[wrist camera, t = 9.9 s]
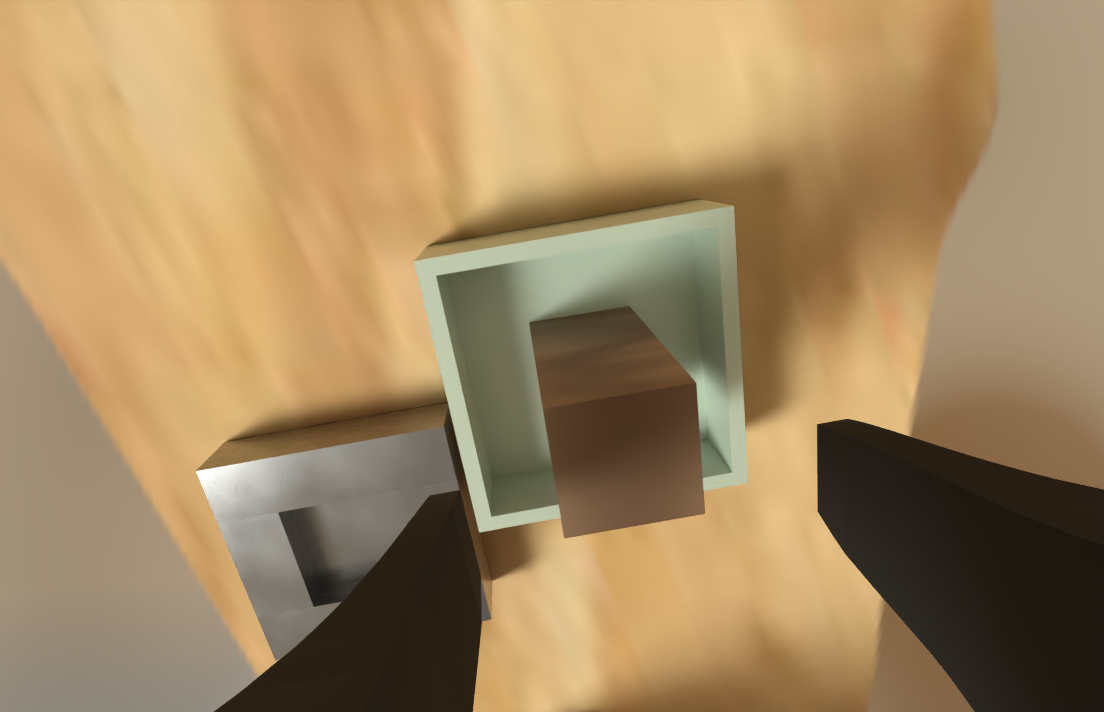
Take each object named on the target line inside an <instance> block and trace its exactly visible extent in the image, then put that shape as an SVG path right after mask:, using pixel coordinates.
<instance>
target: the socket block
mask: <svg viewBox="0 0 1104 712" xmlns="http://www.w3.org/2000/svg"><path fill="white" fill-rule="evenodd" d="M196 473H197V475H198V478H199V480H200V482H201V485H202V487H203V490H204V492H205V494H206V497H207V499H208V501H209V504H210V506H211V509H212V511H213V513H214V516H215V518H216V520H217V523H218V525H219V527H220V530H221V532H222V535H223V537H224V539H225V542H226V544H227V546H228V549H229V551H230V554H231V556H232V558H233V561H234V563H235V565H236V568H237V570H238V572H239V575H240V577H241V580H242V582H243V584H244V587H245V589H246V591H247V594H248V596H249V599H250V601H251V603H252V606H253V608H254V610H255V613H256V615H257V618H258V620H259V622H260V625H261V627H262V629H263V632H264V634H265V636H266V639H267V641H268V644H269V646H270V648H271V651H272V653H273V655H274V658H275V660H278V659H281V658H282V657H283V656H285V655H286V654H287V653H288V652H290V651H291V650H292V649H293V648H294V647H295V646H297V645H298V644H299V643H300V642H301V641H302V640H303V639H304V638H305V637H306V636H307V635H309V634H310V633H311V632H312V631H313V630H314V629H315V628H316V627H317V626H318V625H319V624H320V623H321V622H322V621H323V620H324V619H325V618H326V617H327V616H328V615H329V614H330V613H331V612H332V611H333V610H334V609H335V608H336V607H337V606H338V605H339V604H340V603H341V602H342V601H343V600H344V599H345V598H346V597H347V596H348V595H349V594H350V593H351V591H352V590H353V589H354V588H355V587H356V586H357V585H358V583H359V582H360V581H361V580H362V579H363V578H364V577H365V576H366V574H367V573H368V572H369V571H370V570H371V569H372V568H373V566H374V565H375V564H376V563H377V562H378V561H379V560H380V558H381V557H382V556H383V555H384V553H385V552H386V551H387V550H388V548H389V547H390V546H391V545H392V543H393V542H394V541H395V539H396V538H397V537H398V536H399V534H400V533H401V532H402V530H403V529H404V528H405V526H406V525H407V524H408V523H409V521H410V520H411V519H412V517H413V516H414V515H415V513H416V512H417V511H418V509H419V508H420V507H421V505H422V504H423V503H424V502H425V500H426V499H427V498H428V497H429V495H435V494H440V493H446V492H451V491H457V490H460V492H461V496H462V500H463V504H464V508H465V512H466V516H467V520H468V524H469V528H470V532H471V537H472V541H473V545H474V549H475V553H476V557H477V561H478V565H479V569H480V573H481V600H482V621H485V620H490V619H491V611H492V578H491V574H490V570H489V566H488V562H487V558H486V553H485V549H484V545H483V541H482V537H481V533H479V530H478V525H477V521H476V517H475V513H474V509H473V505H472V501H471V496H470V492H469V488H468V484H467V480H466V476H465V471H464V467H463V463H462V459H461V455H460V451H459V447H458V442H457V438H456V434H455V430H454V426H453V422H452V418H451V413H450V409H449V405H448V402H446V403H440V404H435V405H429V406H424V407H418V408H412V409H407V410H401V411H396V412H390V413H385V414H379V415H373V416H368V417H362V418H357V419H351V420H345V421H340V422H334V423H329V424H323V425H317V426H312V427H306V428H301V429H295V430H290V431H284V432H278V433H273V434H267V435H262V436H256V437H250V438H245V439H239V440H234V441H228V442H224V443H223V444H222V445H221V446H220V447H219V448H218V449H217V450H216V451H215V452H214V453H213V454H212V455H211V456H210V457H209V458H208V459H207V460H206V461H205V462H204V463H203V464H202V465H201V466H200V467H199V468H198V469H197V470H196Z"/></svg>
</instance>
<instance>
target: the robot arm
mask: <svg viewBox="0 0 1104 712" xmlns="http://www.w3.org/2000/svg"><path fill="white" fill-rule="evenodd" d="M817 474H818V513H819V514H820V516H821V517H822V519H823V521H824V522H825V524H826V525H827V527H828V529H829V530H830V532H831V533H832V535H833V536H834V538H835V539H836V541H837V542H838V544H839V545H840V547H841V548H842V550H843V551H844V553H845V554H846V555H847V556H848V558H849V559H850V560H851V561H852V562H853V564H854V565H855V566H856V567H857V568H858V570H859V571H860V572H861V573H862V574H863V575H864V577H865V578H866V579H867V580H868V581H869V582H870V584H871V585H872V586H873V587H874V588H875V589H876V591H877V592H878V593H879V594H880V595H881V596H882V597H883V599H884V600H885V601H886V602H887V603H888V604H889V605H890V606H891V608H892V609H893V610H894V611H895V612H896V613H897V614H898V616H899V617H900V618H901V619H902V620H903V621H904V622H905V624H906V625H907V626H908V627H909V628H910V630H911V631H912V632H913V633H914V634H915V635H916V636H917V638H918V639H919V640H920V641H921V642H922V643H923V645H924V646H925V647H926V648H927V649H928V650H929V651H930V653H931V654H932V655H933V656H934V658H935V659H936V660H937V661H938V663H939V664H940V665H941V666H942V667H943V669H944V670H945V671H946V672H947V674H948V675H949V676H950V678H951V679H952V681H953V682H954V683H955V685H956V686H957V688H958V689H959V690H960V692H961V693H962V694H963V696H964V697H965V699H966V700H967V701H968V703H969V704H970V706H971V707H972V708H973V710H974V711H975V712H1104V490H1103V489H1098V488H1093V487H1089V486H1085V485H1080V484H1075V483H1070V482H1066V481H1062V480H1057V479H1053V478H1049V477H1045V476H1041V475H1037V474H1033V473H1029V472H1026V471H1022V470H1018V469H1015V468H1011V467H1007V466H1004V465H1000V464H997V463H993V462H989V461H986V460H983V459H979V458H976V457H972V456H969V455H966V454H963V453H959V452H956V451H953V450H950V449H947V448H944V447H940V446H937V445H934V444H931V443H928V442H925V441H922V440H919V439H915V438H912V437H909V436H906V435H903V434H900V433H897V432H894V431H891V430H887V429H884V428H881V427H877V426H874V425H871V424H867V423H863V422H859V421H855V420H850V419H844V420H838V421H833V422H827V423H822V424H817ZM481 625H482V600H481V573H480V569H479V565H478V561H477V557H476V553H475V549H474V545H473V541H472V537H471V532H470V528H469V524H468V520H467V516H466V512H465V508H464V504H463V500H462V496H461V492H460V490H457V491H451V492H446V493H440V494H435V495H429V497H428V498H427V499H426V500H425V502H424V503H423V504H422V505H421V507H420V508H419V509H418V511H417V512H416V513H415V515H414V516H413V517H412V519H411V520H410V521H409V523H408V524H407V525H406V526H405V528H404V529H403V530H402V532H401V533H400V534H399V536H398V537H397V538H396V539H395V541H394V542H393V543H392V545H391V546H390V547H389V548H388V550H387V551H386V552H385V553H384V555H383V556H382V557H381V558H380V560H379V561H378V562H377V563H376V564H375V565H374V566H373V568H372V569H371V570H370V571H369V572H368V573H367V574H366V576H365V577H364V578H363V579H362V580H361V581H360V582H359V583H358V585H357V586H356V587H355V588H354V589H353V590H352V591H351V593H350V594H349V595H348V596H347V597H346V598H345V599H344V600H343V601H342V602H341V603H340V604H339V605H338V606H337V607H336V608H335V609H334V610H333V611H332V612H331V613H330V614H329V615H328V616H327V617H326V618H325V619H324V620H323V621H322V622H321V623H320V624H319V625H318V626H317V627H316V628H315V629H314V630H313V631H312V632H311V633H310V634H309V635H307V636H306V637H305V638H304V639H303V640H302V641H301V642H300V643H299V644H298V645H297V646H295V647H294V648H293V649H292V650H291V651H290V652H288V653H287V654H286V655H285V656H283V657H282V658H281V659H280V660H279V661H277V662H276V663H275V664H274V665H273V666H271V667H270V668H269V669H268V670H267V671H265V672H264V673H263V674H262V675H261V676H259V677H258V678H257V679H256V680H254V681H253V682H252V683H251V684H250V685H248V686H247V687H246V688H245V689H244V690H242V691H241V692H240V693H238V694H237V695H236V696H234V697H233V698H232V699H230V700H229V701H228V702H226V703H225V704H224V705H222V706H221V707H220V708H218V709H217V710H216V711H214V712H473V703H474V694H475V684H476V675H477V665H478V656H479V646H480V636H481Z"/></svg>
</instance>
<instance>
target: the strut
mask: <svg viewBox="0 0 1104 712" xmlns="http://www.w3.org/2000/svg"><path fill="white" fill-rule="evenodd" d="M529 326H530V332H531V339H532V345H533V351H534V357H535V364H536V370H537V376H538V383H539V389H540V395H541V401H542V408H543V414H544V420H545V426H546V432H547V438H548V444H549V450H550V456H551V462H552V468H553V474H554V480H555V486H556V492H557V498H558V504H559V510H560V515H561V521H562V527H563V533H564V538H569V537H575V536H581V535H586V534H592V533H598V532H603V531H609V530H615V529H621V528H626V527H632V526H638V525H643V524H649V523H655V522H660V521H666V520H672V519H678V518H683V517H689V516H695V515H700V514H705V505H704V490H703V475H702V460H701V445H700V430H699V415H698V400H697V385H696V382H695V381H694V379H693V378H692V377H691V376H690V375H689V374H688V373H687V371H686V370H685V369H684V368H683V367H682V366H681V365H680V363H679V362H678V361H677V360H676V359H675V358H674V357H673V355H672V354H671V353H670V352H669V351H668V350H667V349H666V347H665V346H664V345H663V344H662V343H661V342H660V340H659V339H658V338H657V337H656V336H655V335H654V334H653V332H652V331H651V330H650V329H649V328H648V327H647V326H646V324H645V323H644V322H643V321H642V320H641V319H640V318H639V316H638V315H637V314H636V313H635V312H634V311H633V310H632V308H631V307H630V306H626V307H620V308H614V309H608V310H602V311H596V312H590V313H584V314H577V315H571V316H565V317H559V318H553V319H547V320H541V321H535V322H529Z"/></svg>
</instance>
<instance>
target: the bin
mask: <svg viewBox="0 0 1104 712" xmlns="http://www.w3.org/2000/svg"><path fill="white" fill-rule="evenodd" d="M414 264H415V268H416V272H417V277H418V281H419V285H420V289H421V293H422V297H423V301H424V306H425V310H426V314H427V318H428V322H429V326H430V330H431V335H432V339H433V343H434V347H435V351H436V355H437V360H438V364H439V368H440V372H441V376H442V380H443V384H444V389H445V393H446V397H447V401H448V405H449V409H450V413H451V418H452V422H453V426H454V430H455V434H456V438H457V442H458V447H459V451H460V455H461V459H462V463H463V467H464V471H465V476H466V480H467V484H468V488H469V492H470V496H471V501H472V505H473V509H474V513H475V517H476V521H477V525H478V530H479V533H480V532H485V531H491V530H496V529H501V528H507V527H512V526H518V525H523V524H528V523H534V522H539V521H545V520H550V519H555V518H561V515H560V510H559V504H558V498H557V492H556V486H555V480H554V474H553V468H552V462H551V456H550V450H549V444H548V438H547V432H546V426H545V420H544V414H543V408H542V401H541V395H540V389H539V383H538V376H537V370H536V364H535V357H534V351H533V345H532V339H531V332H530V326H529V322H535V321H541V320H547V319H553V318H559V317H565V316H571V315H577V314H584V313H590V312H596V311H602V310H608V309H614V308H620V307H626V306H630V307H631V308H632V310H633V311H634V312H635V313H636V314H637V315H638V316H639V318H640V319H641V320H642V321H643V322H644V323H645V324H646V326H647V327H648V328H649V329H650V330H651V331H652V332H653V334H654V335H655V336H656V337H657V338H658V339H659V340H660V342H661V343H662V344H663V345H664V346H665V347H666V349H667V350H668V351H669V352H670V353H671V354H672V355H673V357H674V358H675V359H676V360H677V361H678V362H679V363H680V365H681V366H682V367H683V368H684V369H685V370H686V371H687V373H688V374H689V375H690V376H691V377H692V378H693V379H694V381H695V382H696V385H697V400H698V415H699V430H700V445H701V460H702V475H703V490H704V491H707V490H712V489H718V488H723V487H728V486H734V485H739V484H745V483H748V472H747V452H746V432H745V412H744V392H743V373H742V353H741V333H740V313H739V294H738V274H737V254H736V234H735V214H734V206H733V205H727V204H722V203H717V202H712V201H706V200H701V199H697V200H691V201H685V202H679V203H673V204H668V205H662V206H656V207H650V208H644V209H639V210H633V211H627V212H621V213H615V214H610V215H604V216H598V217H592V218H586V219H581V220H575V221H569V222H563V223H557V224H551V225H546V226H540V227H534V228H528V229H522V230H517V231H511V232H505V233H499V234H493V235H488V236H482V237H476V238H470V239H464V240H459V241H453V242H447V243H441V244H435V245H429V246H427V247H426V248H425V249H424V250H423V251H422V252H421V254H420V255H419V256H418V257H417V258H416V259H415V260H414Z"/></svg>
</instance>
